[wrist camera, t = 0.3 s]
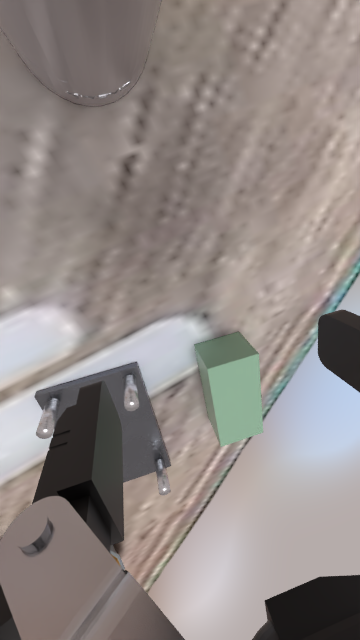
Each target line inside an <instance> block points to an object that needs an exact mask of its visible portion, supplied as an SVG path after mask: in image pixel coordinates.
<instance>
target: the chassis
mask: <svg viewBox="0 0 360 640" xmlns="http://www.w3.org/2000/svg"><path fill="white" fill-rule="evenodd" d="M100 381H104V382H105V383H106V385H107V388H108V390H109V393H110V395H111V398H112V400H113V403H114V405H115V407H116V410H117V412H118V415H119V418H120V422H121V427H122V451H123V483H124V482H126V481H129V480H132V479H135V478H138V477H141V476H144V475H147V474H149V473H152V472H155V471H156V475H157V481H158V488H159V494H160V495H167V494H168V493H169V492H170V485H169V480H168V475H167V470H166V468H167V467H170V466H171V463H170V459H169V456H168V453H167V450H166V447H165V444H164V441H163V438H162V435H161V432H160V429H159V427H158V424H157V421H156V418H155V415H154V412H153V409H152V406H151V403H150V400H149V397H148V394H147V391H146V388H145V385H144V382H143V379H142V376H141V373H140V370H139V367H138V364H137V362H135V363H132V364H128V365H125V366H122V367H118V368H115V369H111V370H108V371H105V372H101V373H98V374H95V375H91V376H88V377H84V378H81V379H78V380H74V381H71V382H67V383H64V384H61V385H57V386H54V387H51V388H47V389H44V390H40V391H37V392H36V394H35V398H36V400H37V402H38V403H39V405H40V407H41V408H42V410H43V413H42V416H41V419H40V422H39V425H38V428H37V432H36V435H37V436H38V437H39V438H42V439H46V438H49V437H51V436H52V434H53V430H54V429H55V426H56V423H57V421H58V419H59V418H60V417H61V415H62V414H63V412H64V411H65V410H66V408H67V407H70V406H74V405H76V403H77V398H78V394H79V390H80V388H81V387H83V386H87V385H90V384H93V383H97V382H100Z"/></svg>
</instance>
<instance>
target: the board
mask: <svg viewBox="0 0 360 640" xmlns="http://www.w3.org/2000/svg"><path fill="white" fill-rule="evenodd" d="M194 346H195V351H196V356H197V361H198V367H199V372H200V377H201V382H202V387H203V392H204V397H205V403H206V408H207V413H208V418H209V420H210V422H211V425H212V427H213V429H214V432H215V434H216V436H217V439H218V441H219V443H220V446H221V447H222V446H225V445H228V444H231V443H234V442H236V441H239V440H242V439H245V438H248V437H251V436H254V435H257V434H260V433H262V432H263V423H262V404H261V386H260V368H259V353H258V352H257V351H256V350H255V349H254V348H253V347H252V346H251V345H250V343H249V342H248V341H247V340H246V339H245V338H244V337H243V336H242V335H241V334H240V332H236V333H233V334H229V335H226V336H222V337H219V338H215V339H212V340H209V341H205V342H202V343H198V344H195V345H194Z"/></svg>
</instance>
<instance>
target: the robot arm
mask: <svg viewBox="0 0 360 640" xmlns="http://www.w3.org/2000/svg"><path fill="white" fill-rule="evenodd" d="M161 1H162V0H0V28H1V29H2V31H3V32H4V34H5V35H6V37H7V38H8V40H9V41H10V43H11V44H12V46H13V47H14V48H15V50H16V51H17V53H18V54H19V56H20V57H21V59H22V60H23V61H24V63H25V64H26V65H27V67H28V68H29V70H30V71H31V72H32V73H33V74H34V75H35V76H36V77H37V78H38V79H39V80H40V81H41V82H42V83H43V84H44V85H45V86H46V87H47V88H48V89H50V90H51V91H53V92H54V93H56V94H57V95H58V96H60V97H62V98H64V99H66V100H69V101H71V102H73V103H76V104H81V105H86V106H103V105H106V104H109V103H112V102H115V101H117V100H118V99H120V98H121V97H123V96H124V95H126V94H127V93H128V92H129V90H130V89H131V88H132V87H133V86H134V85H135V84H136V82H137V80H138V78H139V77H140V75H141V73H142V71H143V69H144V65H145V62H146V59H147V56H148V52H149V48H150V44H151V40H152V36H153V32H154V29H155V25H156V21H157V17H158V13H159V9H160V5H161ZM318 355H319V358H320V360H321V362H322V364H323V365H324V366H325V367H326V368H327V369H329V370H330V371H331V372H333V373H334V374H336V375H337V376H338V377H340V378H341V379H342V380H344V381H345V382H346V383H348V384H349V385H350V386H352V387H353V388H355V389H356V390H357V391H359V392H360V316H358V315H356V314H353V313H351V312H348V311H346V310H339V311H335V312H332V313H329V314H325V315H322V316H321V317H320V318H319V322H318ZM121 541H124V514H123V451H122V427H121V422H120V418H119V415H118V412H117V410H116V407H115V405H114V403H113V400H112V398H111V395H110V393H109V390H108V388H107V385H106V383H105V382H104V381H100V382H97V383H93V384H90V385H87V386H83V387H81V388H80V390H79V394H78V398H77V403H76V405H74V406H70V407H67V408H66V410H65V411H64V412H63V414H62V415H61V417H60V418H59V419H58V421H57V423H56V426H55V430H54V433H53V438H52V440H51V443H50V446H49V451H48V453H47V456H46V460H45V463H44V466H43V470H42V473H41V476H40V480H39V483H38V486H37V490H36V493H35V496H34V500H33V503H32V505H30V506H29V507H27V508H26V509H25V510H24V511H23V512H22V513H21V514H19V515H18V516H17V517H16V519H15V520H14V521H13V522H12V523H11V524H10V526H9V527H8V529H7V530H6V532H5V533H4V535H3V537H2V538H1V541H0V640H185V639H184V638H183V637H182V636H181V634H180V633H179V632H178V631H177V630H176V628H175V627H174V626H173V625H172V624H171V622H170V621H169V620H168V619H167V617H166V616H165V615H164V614H163V612H162V611H161V610H160V609H159V608H158V606H157V605H156V604H155V603H154V601H153V600H152V599H151V598H150V597H149V595H148V594H147V593H146V592H145V590H144V589H143V588H142V587H141V586H140V584H139V583H138V582H137V581H136V580H135V579H134V577H133V576H132V575H131V574H130V573H129V572H128V571H127V570H125V571H124V570H123V569H122V568H121V566H120V565H119V564H118V563H117V562H116V560H115V559H114V558H113V557H112V555H111V554H110V548H111V545H113V544H116V543H119V542H121ZM265 606H266V612H267V619H268V621H267V623H265V625H263V626H262V628H261V629H260V630H259V631H258V632H257V633H256V635H255V636H254V638H253V639H252V640H360V575H352V576H328V577H318V578H316V579H314V580H311V581H309V582H307V583H304V584H302V585H300V586H297V587H295V588H293V589H290V590H288V591H286V592H283V593H281V594H279V595H277V596H274V597H272V598H270V599H267V600H265Z"/></svg>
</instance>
